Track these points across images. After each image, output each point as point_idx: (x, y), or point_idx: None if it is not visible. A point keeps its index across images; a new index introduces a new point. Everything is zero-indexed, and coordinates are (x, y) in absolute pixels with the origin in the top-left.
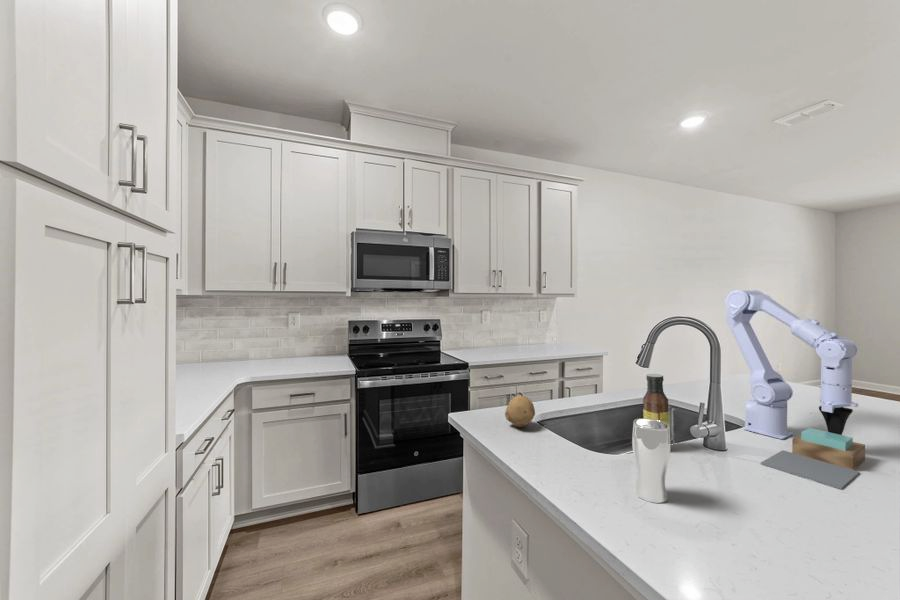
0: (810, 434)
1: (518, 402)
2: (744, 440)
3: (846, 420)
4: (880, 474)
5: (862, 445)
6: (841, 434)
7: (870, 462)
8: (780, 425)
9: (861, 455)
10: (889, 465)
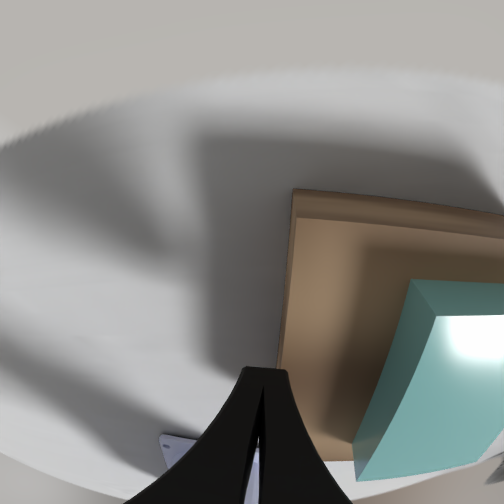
0: (494, 437)
1: None
2: (389, 479)
3: (193, 463)
4: (476, 120)
5: (347, 229)
6: (257, 373)
7: (303, 162)
8: (246, 497)
9: (394, 209)
10: (265, 85)
